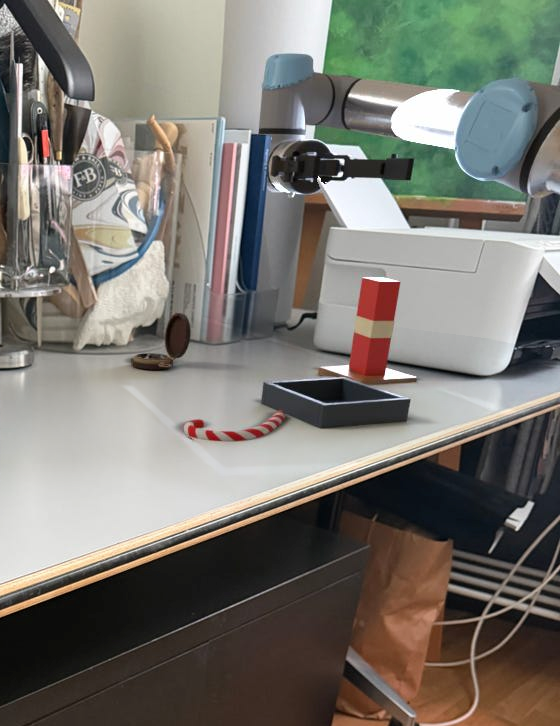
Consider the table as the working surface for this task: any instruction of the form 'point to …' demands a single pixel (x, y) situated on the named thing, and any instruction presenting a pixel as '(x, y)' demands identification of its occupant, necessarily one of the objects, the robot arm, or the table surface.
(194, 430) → the candy cane
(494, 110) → the robot arm
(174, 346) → the compass
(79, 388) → the table surface
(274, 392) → the tray
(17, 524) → the table surface
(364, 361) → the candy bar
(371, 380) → the board
